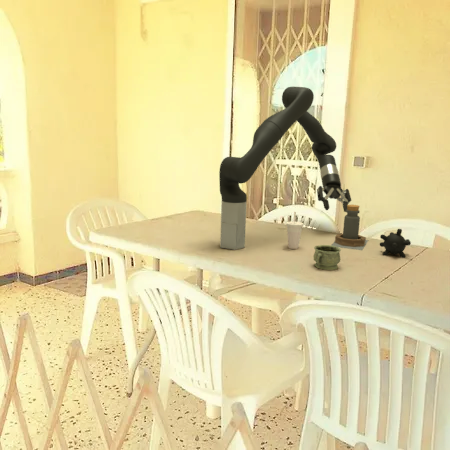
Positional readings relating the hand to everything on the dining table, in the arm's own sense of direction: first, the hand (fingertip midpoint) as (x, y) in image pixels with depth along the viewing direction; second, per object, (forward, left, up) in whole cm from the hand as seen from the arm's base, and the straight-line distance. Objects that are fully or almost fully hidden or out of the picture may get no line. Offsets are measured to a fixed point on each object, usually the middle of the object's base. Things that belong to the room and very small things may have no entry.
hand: (337, 210), depth 195 cm
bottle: (-8, -7, -11) cm, 16 cm away
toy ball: (-18, -25, -12) cm, 33 cm away
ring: (-8, -8, -11) cm, 16 cm away
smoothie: (-26, +10, -12) cm, 31 cm away
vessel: (-43, -6, -12) cm, 45 cm away
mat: (-8, -8, -12) cm, 16 cm away
